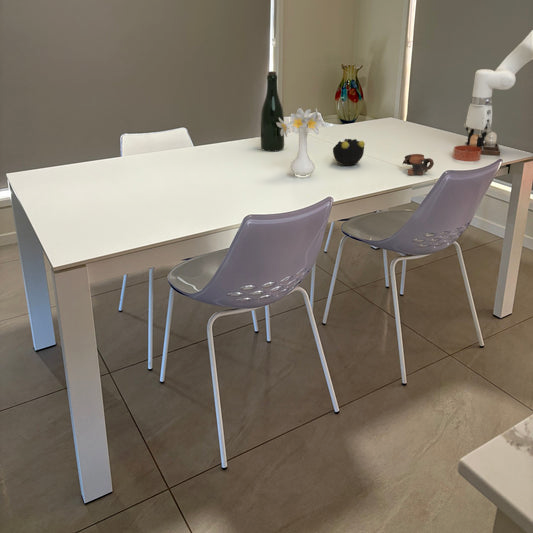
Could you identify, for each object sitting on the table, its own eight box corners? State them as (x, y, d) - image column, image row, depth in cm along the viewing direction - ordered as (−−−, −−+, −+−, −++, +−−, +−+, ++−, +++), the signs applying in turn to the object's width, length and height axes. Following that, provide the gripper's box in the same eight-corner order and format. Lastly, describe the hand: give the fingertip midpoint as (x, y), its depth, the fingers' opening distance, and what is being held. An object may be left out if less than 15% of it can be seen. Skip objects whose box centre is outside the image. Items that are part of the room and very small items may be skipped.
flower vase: (271, 177, 223) (271, 110, 212) (308, 168, 233) (310, 104, 222) (293, 185, 214) (294, 115, 203) (331, 175, 224) (333, 109, 213)
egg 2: (494, 148, 257) (497, 130, 253) (495, 151, 253) (498, 133, 249) (483, 148, 258) (486, 130, 254) (483, 150, 254) (486, 132, 250)
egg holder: (497, 149, 258) (498, 143, 257) (499, 157, 246) (500, 151, 245) (464, 147, 261) (465, 141, 260) (464, 155, 249) (465, 149, 248)
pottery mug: (400, 176, 224) (399, 154, 225) (407, 181, 233) (406, 160, 233) (431, 171, 218) (430, 150, 219) (438, 177, 227) (437, 156, 227)
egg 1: (479, 151, 252) (482, 132, 249) (479, 153, 248) (482, 135, 245) (468, 150, 254) (470, 132, 250) (468, 153, 250) (471, 134, 246)
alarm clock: (360, 169, 244) (376, 139, 235) (344, 179, 233) (360, 148, 224) (337, 154, 247) (352, 123, 238) (320, 163, 236) (336, 131, 227)
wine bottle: (259, 151, 258) (258, 73, 243) (261, 146, 267) (260, 70, 253) (283, 152, 257) (284, 73, 243) (284, 146, 266) (284, 69, 252)
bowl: (479, 156, 247) (481, 146, 245) (480, 163, 237) (482, 152, 235) (452, 155, 249) (453, 144, 248) (452, 162, 240) (453, 151, 238)
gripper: (504, 103, 237) (497, 148, 245) (472, 97, 250) (466, 140, 258) (490, 105, 234) (484, 150, 241) (459, 99, 247) (453, 142, 255)
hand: (475, 144), depth 250 cm, fingers closed on egg 1, 4 cm apart
